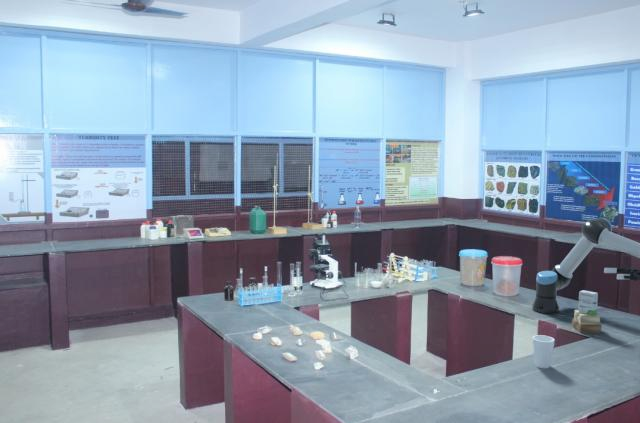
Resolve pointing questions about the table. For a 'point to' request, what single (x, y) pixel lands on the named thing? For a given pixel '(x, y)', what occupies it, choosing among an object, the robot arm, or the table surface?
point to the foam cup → (543, 350)
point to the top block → (586, 318)
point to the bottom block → (586, 327)
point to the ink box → (588, 302)
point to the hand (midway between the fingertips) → (610, 273)
